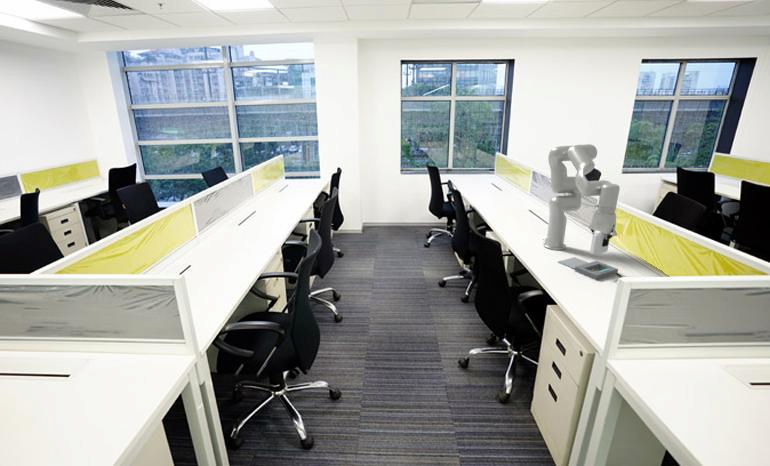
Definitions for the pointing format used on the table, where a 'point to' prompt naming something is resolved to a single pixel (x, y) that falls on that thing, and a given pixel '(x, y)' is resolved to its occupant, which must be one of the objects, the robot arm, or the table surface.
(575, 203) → the robot arm
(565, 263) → the rubber mat
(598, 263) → the charging dock
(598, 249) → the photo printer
